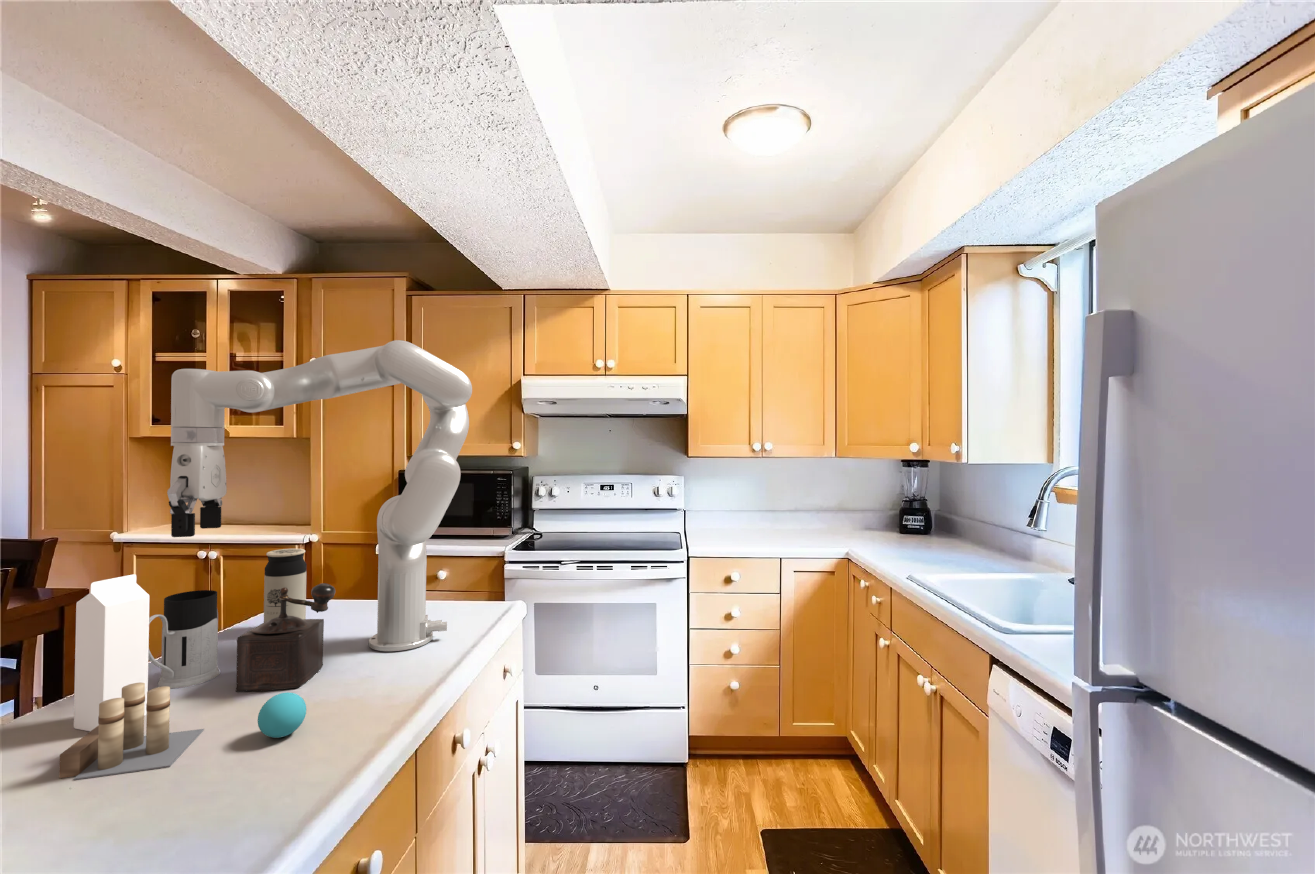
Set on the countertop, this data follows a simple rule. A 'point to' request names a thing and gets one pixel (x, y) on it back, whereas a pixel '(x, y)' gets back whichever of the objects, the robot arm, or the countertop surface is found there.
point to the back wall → (79, 755)
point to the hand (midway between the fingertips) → (197, 532)
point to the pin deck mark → (145, 756)
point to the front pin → (157, 720)
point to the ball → (281, 715)
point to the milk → (109, 645)
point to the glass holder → (188, 639)
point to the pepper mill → (283, 647)
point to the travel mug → (285, 582)
